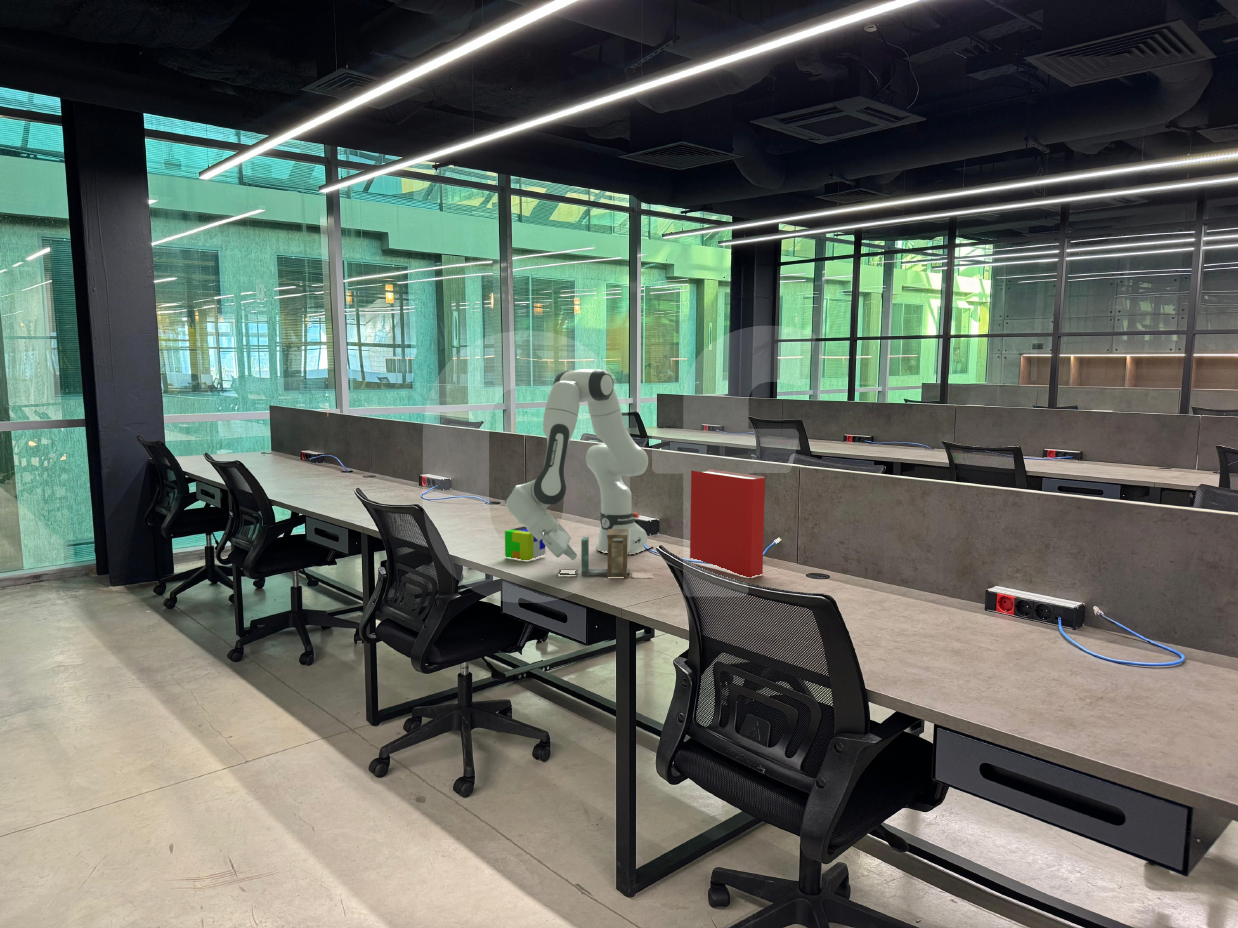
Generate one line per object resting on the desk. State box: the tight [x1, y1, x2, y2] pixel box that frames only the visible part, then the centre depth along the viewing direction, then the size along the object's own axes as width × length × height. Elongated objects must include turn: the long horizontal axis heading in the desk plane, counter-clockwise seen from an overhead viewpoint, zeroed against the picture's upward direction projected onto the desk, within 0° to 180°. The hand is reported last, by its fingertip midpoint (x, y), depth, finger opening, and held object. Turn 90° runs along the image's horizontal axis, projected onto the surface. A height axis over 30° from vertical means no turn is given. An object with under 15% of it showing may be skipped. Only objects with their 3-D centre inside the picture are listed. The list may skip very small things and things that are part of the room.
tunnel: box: [607, 529, 628, 579], centre depth 255 cm, size 6×9×14 cm
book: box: [689, 468, 766, 577], centre depth 263 cm, size 27×8×32 cm, turn 37°
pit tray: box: [557, 568, 579, 576], centre depth 256 cm, size 6×6×1 cm
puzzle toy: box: [504, 526, 546, 560], centre depth 278 cm, size 10×10×10 cm
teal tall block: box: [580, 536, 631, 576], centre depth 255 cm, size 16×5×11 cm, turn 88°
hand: (575, 557), depth 255 cm, fingers closed
